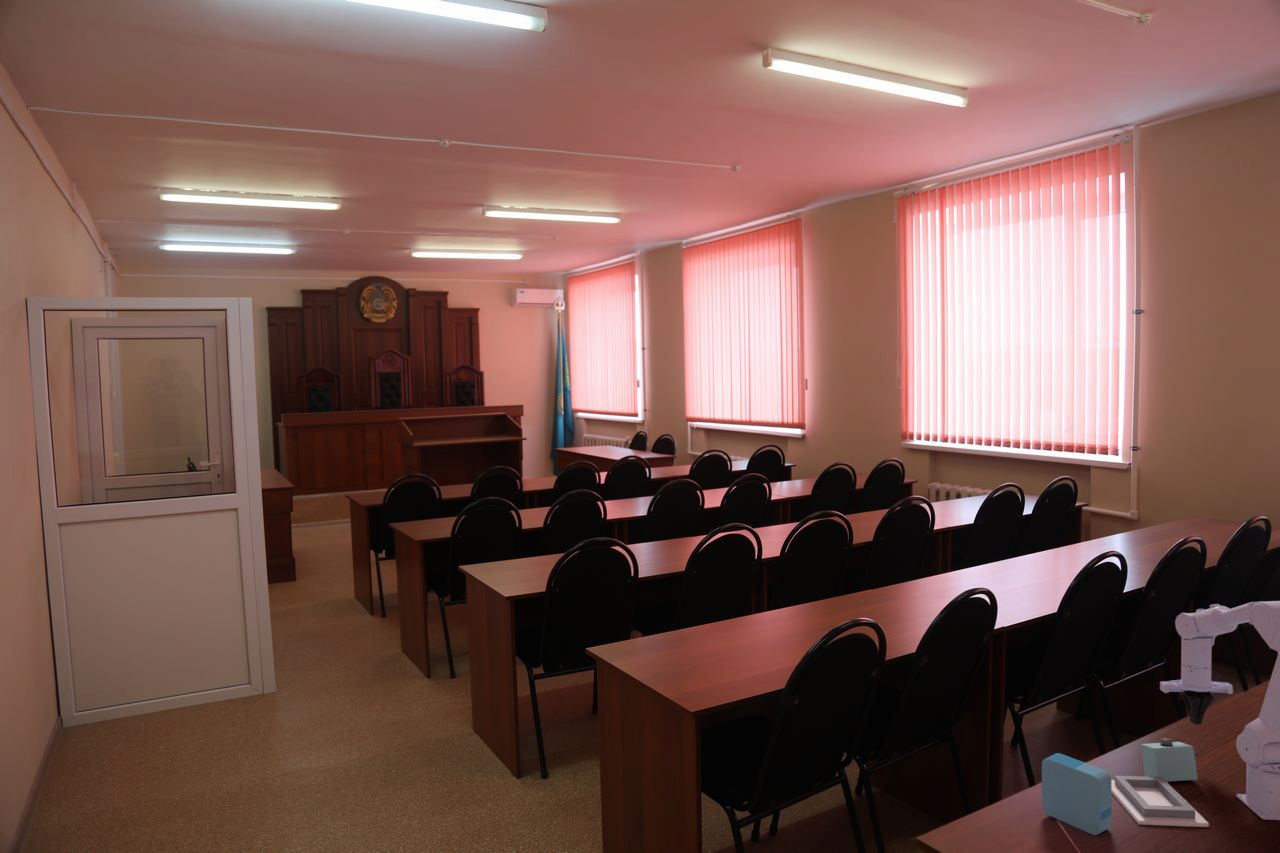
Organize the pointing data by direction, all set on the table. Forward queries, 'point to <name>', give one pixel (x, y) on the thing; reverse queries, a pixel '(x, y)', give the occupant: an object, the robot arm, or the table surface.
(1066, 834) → the table surface
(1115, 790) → the socket plate
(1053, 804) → the data package
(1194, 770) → the key block
